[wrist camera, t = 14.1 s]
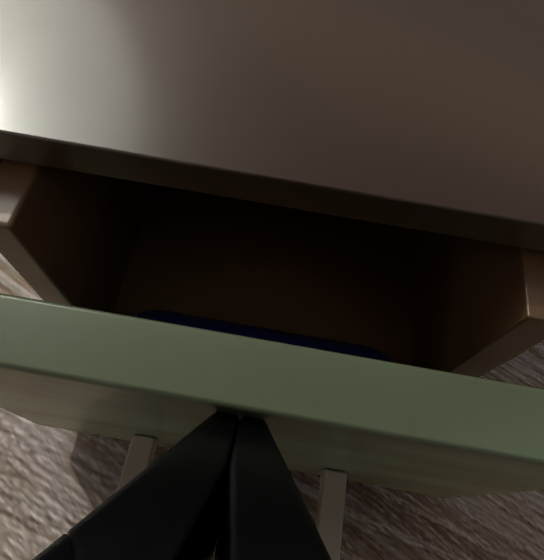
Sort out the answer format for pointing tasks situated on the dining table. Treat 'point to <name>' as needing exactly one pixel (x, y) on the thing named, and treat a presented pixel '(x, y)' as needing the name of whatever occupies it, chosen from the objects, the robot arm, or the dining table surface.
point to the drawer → (277, 316)
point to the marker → (265, 334)
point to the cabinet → (292, 104)
